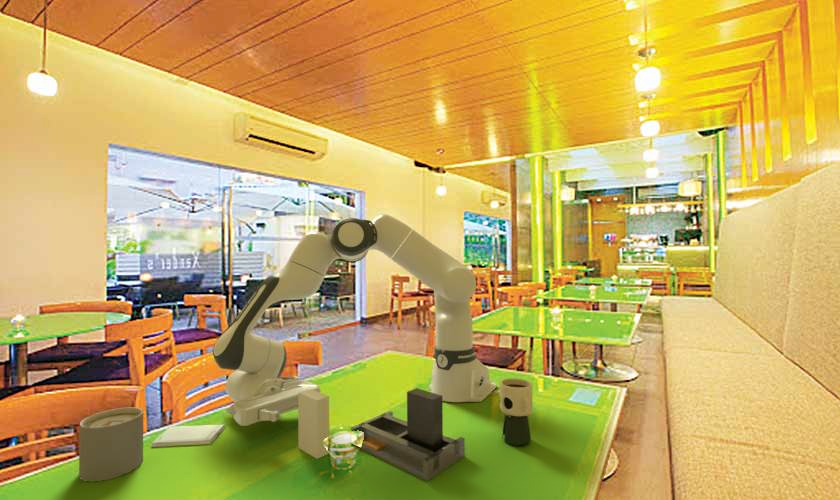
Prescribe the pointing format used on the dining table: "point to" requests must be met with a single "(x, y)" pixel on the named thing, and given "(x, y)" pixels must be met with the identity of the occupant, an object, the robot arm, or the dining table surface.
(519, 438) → the character mug
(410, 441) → the rack
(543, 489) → the dining table surface
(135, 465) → the coffee mug
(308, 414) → the beige rectangular block
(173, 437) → the hard drive
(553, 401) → the dining table surface
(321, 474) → the dining table surface
